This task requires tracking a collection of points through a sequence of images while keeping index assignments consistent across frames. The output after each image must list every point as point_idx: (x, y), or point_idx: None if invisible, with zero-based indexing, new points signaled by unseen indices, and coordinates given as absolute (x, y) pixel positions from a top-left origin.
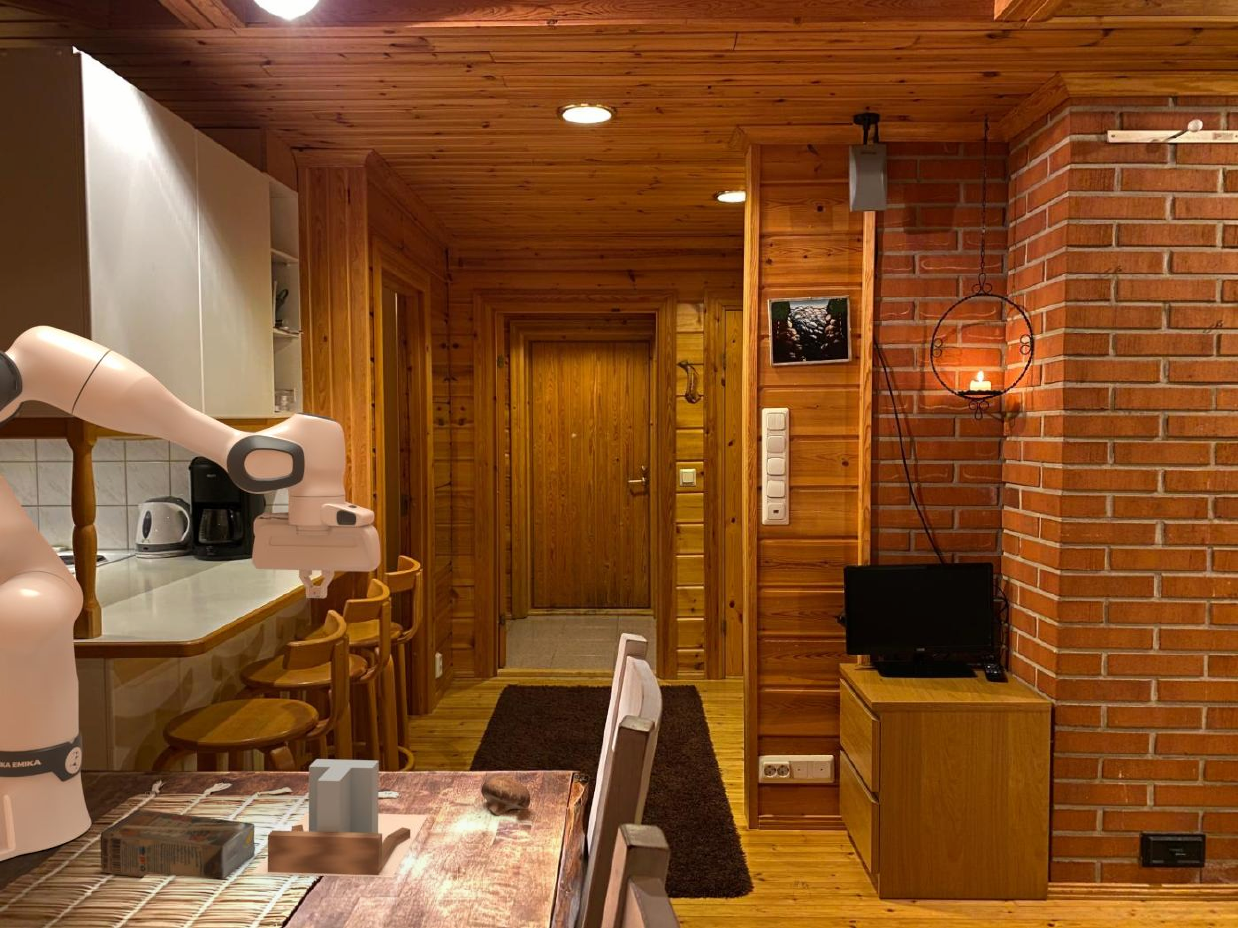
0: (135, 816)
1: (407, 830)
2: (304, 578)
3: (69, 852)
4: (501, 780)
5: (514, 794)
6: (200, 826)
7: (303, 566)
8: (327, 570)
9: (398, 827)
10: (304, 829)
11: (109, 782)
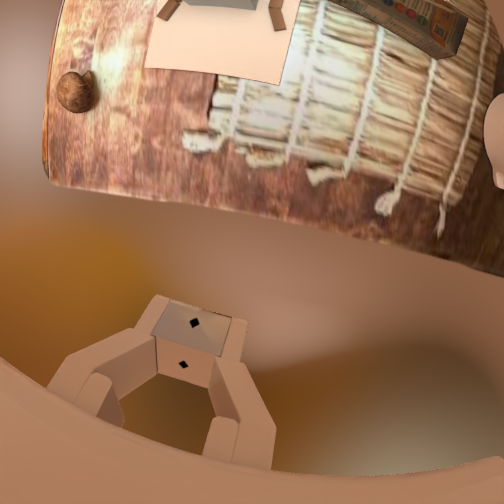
0: (452, 33)
1: (158, 13)
2: (237, 409)
3: (485, 80)
4: (66, 86)
5: (63, 75)
6: None
7: (216, 487)
8: (43, 387)
9: (171, 37)
10: (273, 38)
11: (473, 242)
